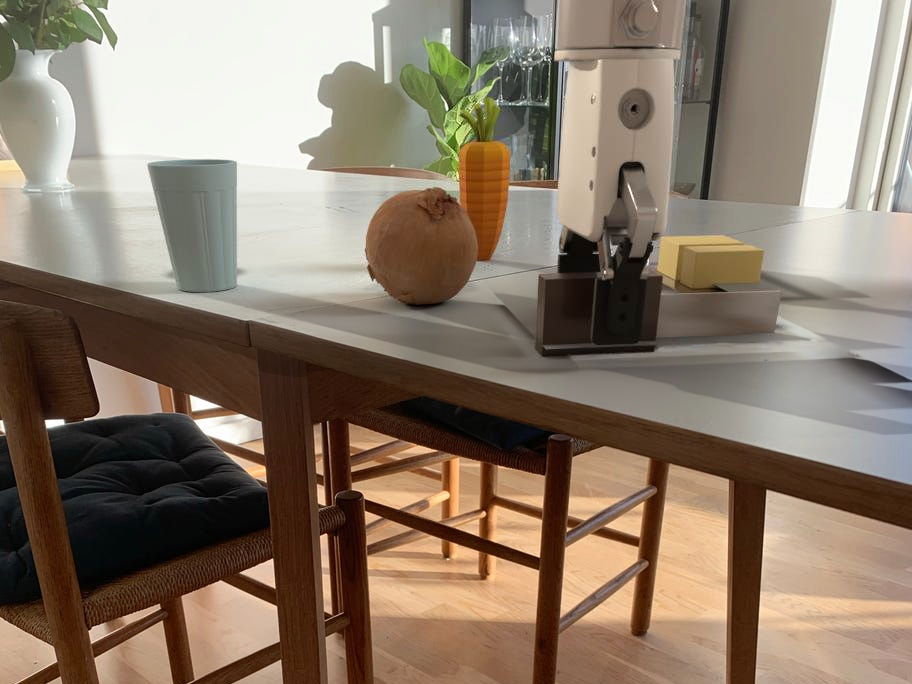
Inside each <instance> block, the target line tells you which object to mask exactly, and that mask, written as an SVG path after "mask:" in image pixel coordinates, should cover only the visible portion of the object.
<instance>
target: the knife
mask: <svg viewBox="0 0 912 684" xmlns="http://www.w3.org/2000/svg"><path fill="white" fill-rule="evenodd" d="M595 278H602V277H601V272H582V273H557V272H554V273H551V272H549V273H548V272H547V273H539V274H538V281H537V298H536V299H537V302H536V319H535V320H536V321H535V322H536V323H535V341H534V342H535V343H534V349H535V350H536V351H537V352H538V354H540V356H541V357H553V356H554V357H555V356H578V355H582V356H583V355H608V354H633V353H635V354H637V353H654V352H655V351H656V350H655V349H656V344H648V345H647V344H643V345H618V346H617V345H615V346H614V345H613V346H592V347H588V346H587V347H566V348H565V347H564V348H563V347H562V348H546V347H545V346H557V345H559V346H560V345H581V344H582V345H584V344H585V345H586V344H594V343H593V342H592V341H591V338H590V336H591V324H592V311H593V299H594V286H595ZM662 280H663V276H662V275H660V274H658V273H656V272H654V271H649V276H648V279H647V285H646V294H645V304H644V313H643V323H642V332H641V339H640V341H639V342H638V343H640V342H656V341H657V338H681V337H682V338H683V337H708V336H737V335H738V336H739V335H762V334H764V335H765V334H775V333H776V326H777V321H778V320H777V319H778V314H779V309H780V303H781V297H782V290H754V291H753V290H751V291H748V290H747V291H728V292H716V293H684V294H681V293H662V289H663V288H662V287H663V284H662Z"/></svg>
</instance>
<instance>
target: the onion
mask: <svg viewBox="0 0 912 684" xmlns="http://www.w3.org/2000/svg"><path fill="white" fill-rule="evenodd" d="M364 253H365V257H366V258H365V259H366V261H367V263H368V264H367V266H366V269H367V272H368V275H369V278H370V280H371V281H372V282H374V281H376V283H377V284H380V286H381V287H382V288H383V291H384V292H386V293H387V294H388V295H389V296H390V297H392V298H393V299H394V300H395V299H396V300H398V301H397V303H398V304H400V305H403V304H406V305H414V306H415V305H417V306H418V305H434V304H441V303H444V302H446V301H449V300H451V299H453V298H454V297H456V296H457V295H458V294H459V293H460V292H461V291H462V290H463V288H464V287H466V285H467V284H468V282H469V280H470V279H471V277H472V274H473V272H474V270H475V266H476V264H477V256H478V243H477V237H476V233H475V230H474V227H473V225H472V222H471V220H470V218H469V217H468V215H467V213H466V211H465V210H464V208H463V207H462V206H461V205H460V202H458V198H457V197H455V196H452V195H451V193H447V191H446V189H443V188H441V187H439V186H437V187H436V186H433V187H429V188H425V189H424V190H421V189H412V190H406V191H402V192H399V193H397V194H395V195H393V196H390V197H389V198H387V199H386V200H385V201H384V202H383V203H381V205H379V207H378V208H377V210H376V211H375V212H374V214H373V216H372V218H371V219H370V221H369V224H368V227H367V231H366V235H365V247H364Z"/></svg>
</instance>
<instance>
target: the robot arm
mask: <svg viewBox="0 0 912 684" xmlns="http://www.w3.org/2000/svg"><path fill="white" fill-rule="evenodd" d="M556 7H557V8H556V24H555V25H556V26H555V40H554V41H555V44H554V50H555V51H554V60H553V61H554V62H567V63H568V69H567V78H566V85H565V86H566V88H565V94H564V98H563V99H564V104H563V105H564V106H563V115H562V125H561V135H560V136H561V137H560V147H559V148H560V149H559V164H558V177H557V178H558V179H557V217H558V219H559V220H558V221H559V222H560V223H561V225H562V228H561V231H560V236H559V239H558V251H559V253H558V254H557V268H556V269H557V270H556V273H582V272H601V277H602V278H595V286H594V299H593V311H592V324H591V336H590V338H591V341H592V342H593V343H592V344H594V346H595V345H596V346H614V345H615V346H617V345H618V346H623V345H635V344H638V343H640V342H639V341H640V339H641V332H642V323H643V313H644V304H645V294H646V285H647V279H648V276H649V271H650V269H651V268H650V267H651V266H650V265H651V263H650V256H651V254H652V253H653V252H654V251H653V250H654V245H653V242H656V241H658V240H660V239H661V237H663V236H664V234H665V233H666V229H667V225H668V224H667V222H668V213H669V201H670V189H671V188H670V186H671V172H672V157H673V144H674V143H673V142H674V125H675V122H674V121H675V65H674V62H675V61H680V60H681V53H682V43H683V36H684V35H683V34H684V26H685V16H686V8H687V0H557V6H556ZM613 246H617V247H616V250H615V252H614V250H613Z"/></svg>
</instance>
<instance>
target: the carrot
mask: <svg viewBox="0 0 912 684" xmlns="http://www.w3.org/2000/svg"><path fill="white" fill-rule="evenodd" d="M483 103H484V104H483V105H484V106H483V107H484V109H483V107H482V106H481V104H480V103H476V104H474V105H473V108H474V112H475V117H476V119H475V118H474V116H473V115H472V114H471V113H470V112H469V111H468V110H465V109H462V110H460V112H459V117H461V118H462V119H463V120H465V121H466V122H467V123H468V125H469V126H470V128H471V129H472V131H473V133H474V136H475V139H476V140H473V141H470V142H467V143H465V144H463V146H461V148H460V149H459V152H458V153H459V154H458V186H459V189H458V190H459V204H460V205H461V206H462V207H463V208H464V210H465V211H466V213H467V215H468V217H469V218H470V220H471V222H472V225H473V227H474V230H475V233H476V237H477V243H478V256H477V260H476V262H489V261H491V260H492V258H493V255H494V253H495V251H496V250H497V246H498V244H499V241H500V238H501V235H502V232H503V226H504V222H505V218H506V212H507V206H508V202H509V201H508V200H509V189H510V188H509V187H510V174H511V152H510V149H509V147H508V146H507V145H506V144H505V143H503V142H500V141H496V140H493V136H494V128H495V125H496V123H497V119H498V117H499V116H500V111H501V108H500V107H499V105H498V104H495V99H494V98H492V97H488V96H487V97H485V98H484V100H483ZM483 110H484V112H483ZM484 119H485V120H484Z"/></svg>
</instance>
